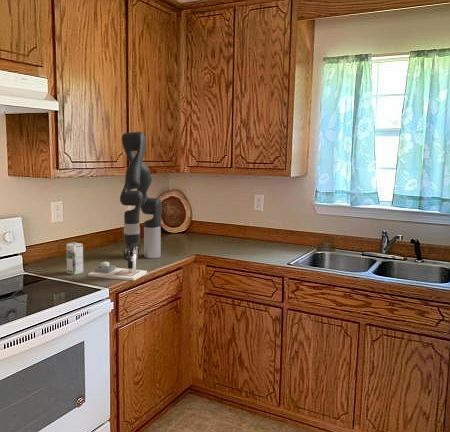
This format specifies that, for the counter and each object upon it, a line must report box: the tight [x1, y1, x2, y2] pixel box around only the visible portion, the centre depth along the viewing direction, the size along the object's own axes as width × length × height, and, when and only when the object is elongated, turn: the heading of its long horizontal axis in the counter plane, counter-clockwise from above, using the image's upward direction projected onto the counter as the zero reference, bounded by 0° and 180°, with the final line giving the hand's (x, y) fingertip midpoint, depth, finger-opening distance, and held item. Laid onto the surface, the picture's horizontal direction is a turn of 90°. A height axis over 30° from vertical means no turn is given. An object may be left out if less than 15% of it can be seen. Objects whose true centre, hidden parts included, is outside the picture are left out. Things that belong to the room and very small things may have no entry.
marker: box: [127, 250, 137, 273], centre depth 226 cm, size 4×4×10 cm
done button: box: [99, 261, 110, 268], centre depth 229 cm, size 4×4×3 cm
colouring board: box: [87, 264, 148, 282], centre depth 227 cm, size 14×24×3 cm, turn 74°
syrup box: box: [66, 242, 84, 275], centre depth 228 cm, size 6×6×14 cm
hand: (132, 267), depth 226 cm, fingers closed on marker, 3 cm apart
